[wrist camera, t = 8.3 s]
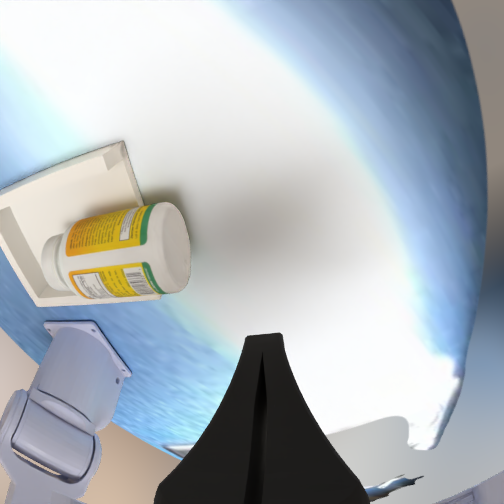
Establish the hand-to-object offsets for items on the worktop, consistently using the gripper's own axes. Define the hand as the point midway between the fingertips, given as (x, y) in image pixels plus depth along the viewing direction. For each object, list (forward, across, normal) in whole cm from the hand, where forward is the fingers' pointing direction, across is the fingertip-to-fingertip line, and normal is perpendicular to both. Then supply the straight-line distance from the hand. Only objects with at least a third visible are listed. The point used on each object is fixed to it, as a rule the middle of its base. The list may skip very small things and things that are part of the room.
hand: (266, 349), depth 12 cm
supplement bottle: (+7, +5, -1) cm, 9 cm away
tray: (+10, +14, -2) cm, 17 cm away
